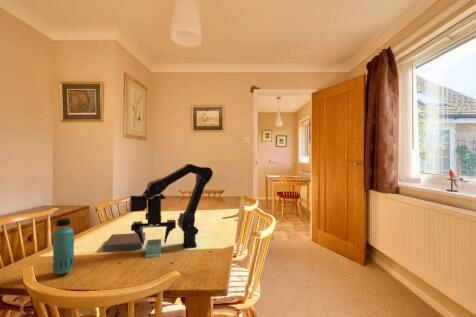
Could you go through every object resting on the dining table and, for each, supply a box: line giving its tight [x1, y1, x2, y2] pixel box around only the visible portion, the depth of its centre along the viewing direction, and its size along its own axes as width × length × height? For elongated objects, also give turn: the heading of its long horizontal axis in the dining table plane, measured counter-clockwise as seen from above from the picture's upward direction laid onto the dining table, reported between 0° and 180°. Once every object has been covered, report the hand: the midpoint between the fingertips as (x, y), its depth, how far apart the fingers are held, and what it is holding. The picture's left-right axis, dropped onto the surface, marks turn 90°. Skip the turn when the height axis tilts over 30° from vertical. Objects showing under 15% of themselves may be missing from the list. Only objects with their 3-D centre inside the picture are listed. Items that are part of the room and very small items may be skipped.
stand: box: [102, 232, 146, 253], centre depth 122 cm, size 16×16×3 cm
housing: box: [144, 238, 163, 259], centre depth 113 cm, size 12×6×5 cm, turn 14°
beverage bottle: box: [52, 217, 75, 275], centre depth 91 cm, size 6×7×20 cm
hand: (154, 244), depth 113 cm, fingers open, 9 cm apart
